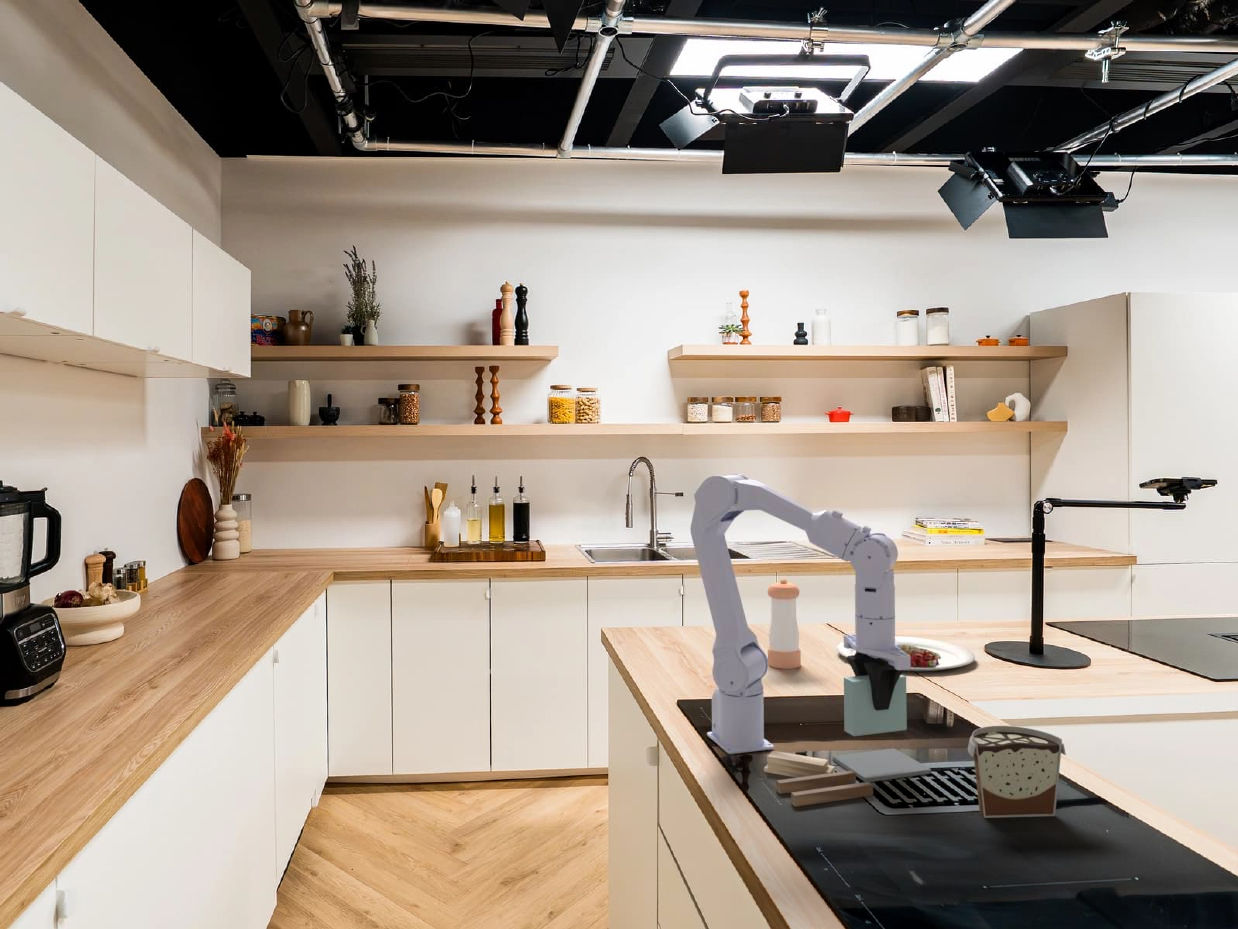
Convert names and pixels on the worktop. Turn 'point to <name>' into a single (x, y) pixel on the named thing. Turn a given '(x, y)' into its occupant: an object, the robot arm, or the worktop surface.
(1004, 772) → the food container
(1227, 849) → the worktop surface
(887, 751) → the slate mat
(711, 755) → the worktop surface
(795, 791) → the walnut rack
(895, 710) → the tall board
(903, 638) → the plated food
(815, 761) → the offcut planks
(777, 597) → the pepper shaker
